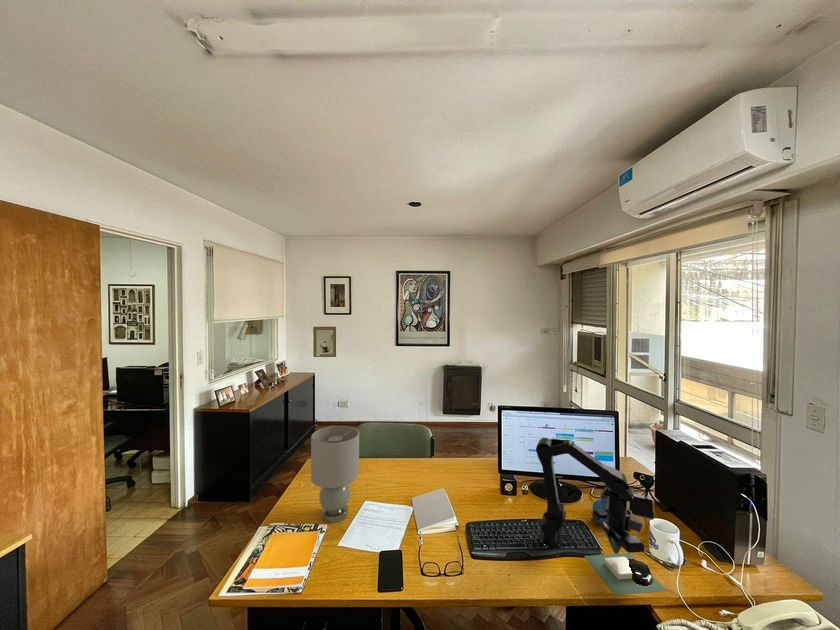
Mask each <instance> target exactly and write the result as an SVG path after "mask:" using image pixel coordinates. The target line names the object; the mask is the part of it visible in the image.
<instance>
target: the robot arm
mask: <svg viewBox="0 0 840 630" xmlns="http://www.w3.org/2000/svg"><path fill="white" fill-rule="evenodd" d="M535 453H536V455H537V459H538V460H539V463H540V464H541V468H542V473H543V480H544V488H545V494H546V499H547V503H546V504H547V506H546V512H544V513H543V514H542V518H541V521H540V525H539V536H540V538H541V540H542V542H543V544H546V545H548V546H550V547H547V546H545V547H547V548H549V549H561V548H560V547H559V548H558V546H556V545H557V544H561V531H560V530H562V528H563V526H564V524H565V522H566V516H567V512H566V510H565V503H561V502H560V500H559V493H558V486H557V481H556V480H557V479H556V473H555V469H554V457H556V456H561V455H569V456H571V458H573V459H574V460H576V461H577V462H579V463H580V464H581V465H583V466H584V467H585V468H587V469H588V470H590V471H591V472H592V473H594V474H595V475H597V477H598V478H599V479H600V480H601V481H602V483H603V484H604V485H605V487H603V488H602V490H601V492H602V494H603V495H605V496H608V508H605V509H597V510H594V511H593V510H592V516H591V517H592V519H593V518H594V519H595V520H596V521H595V520H594V519H593V520H594V521H595V522H597V521H600V518H602V519H603V520H604V526H602V531H603V532H604V534H605V535H606V538H607V540H608V542H609V545H610V547H611V550H612V552H613V554H619V553H620V551H621V549H622V548H623V550H625V551H626V553H630V554H633V553H634V554H635V553H645V544H644V543H643V542H642V541H641V540H640V539H639V538H638V537H636V535H631V534H630V532H632V531H635V532H637V533H639V534H640V533H641V531H642V528H643V526H644V524H643V522H641V520H639V519H638V518H637V517H640V518H644V519H648V520H651V521H654V518H655V512H654V506H653V505H654V504H653V499H652V497H650V496H647V495H641V494H638V493H637V494H636V493H634V492H633V489H632V487H631V486H630V485H629V484H628V479H627V477H626V475H625V474H624V473H623V472H622V471H620V470H619V469H616V468H614V467H612V466H608V465H606V464H604V463H602V462H601V461H599V460H598V459H597V458H596V457H594V456H592V454H590V453H589V452H587V451H585V450H584V449H583V448H582V447H580V446H579V445H577V444H575V442H574V441H572V440H571V439H558V438H548V437H541V438H540V439H539V441H538V442H537V445H536V448H535ZM627 504H628V505H627ZM635 516H637V517H635Z"/></svg>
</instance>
